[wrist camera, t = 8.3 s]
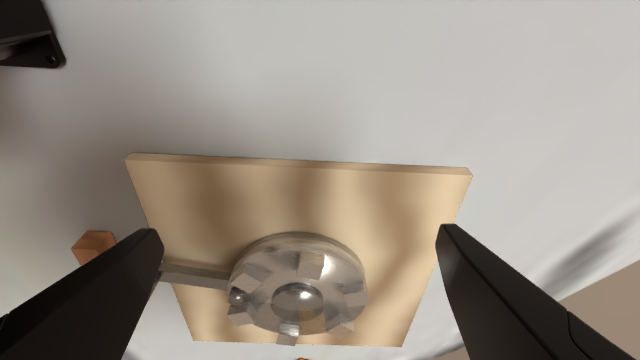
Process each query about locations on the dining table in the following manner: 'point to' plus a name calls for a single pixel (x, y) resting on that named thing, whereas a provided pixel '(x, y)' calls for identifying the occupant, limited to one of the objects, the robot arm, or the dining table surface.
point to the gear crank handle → (287, 285)
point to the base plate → (294, 229)
